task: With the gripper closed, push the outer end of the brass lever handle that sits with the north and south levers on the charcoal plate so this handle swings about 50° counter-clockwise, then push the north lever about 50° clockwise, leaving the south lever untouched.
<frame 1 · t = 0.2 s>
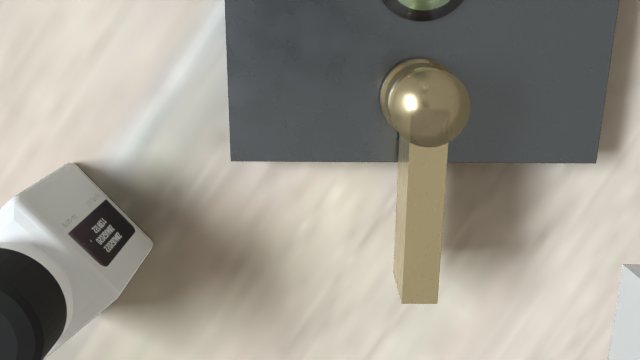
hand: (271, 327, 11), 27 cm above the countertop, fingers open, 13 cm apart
container: (76, 236, 40), on the countertop
brass lever handle: (419, 180, 34), point 5 cm above the countertop, hinge at 0.0°
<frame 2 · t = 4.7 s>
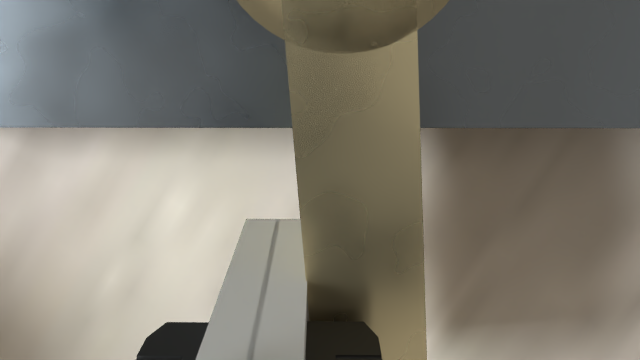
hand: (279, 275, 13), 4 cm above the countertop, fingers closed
brass lever handle: (354, 170, 12), point 5 cm above the countertop, hinge at 4.3°, touching gripper
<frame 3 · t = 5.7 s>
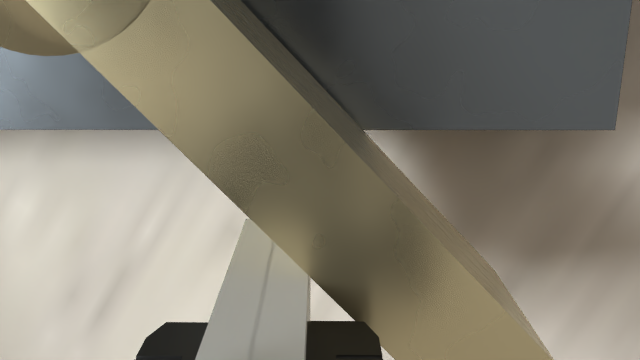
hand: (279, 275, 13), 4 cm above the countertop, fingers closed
brass lever handle: (263, 112, 11), point 5 cm above the countertop, hinge at 43.4°, touching gripper
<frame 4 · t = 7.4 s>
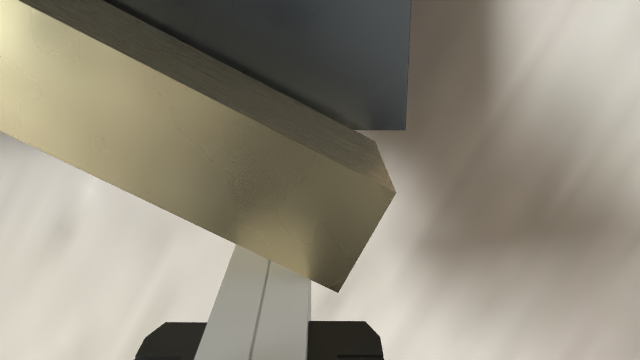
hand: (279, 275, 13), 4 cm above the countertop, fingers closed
brass lever handle: (48, 48, 11), point 5 cm above the countertop, hinge at 62.7°, touching gripper
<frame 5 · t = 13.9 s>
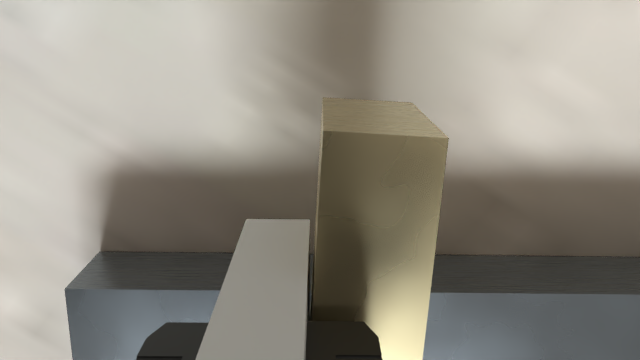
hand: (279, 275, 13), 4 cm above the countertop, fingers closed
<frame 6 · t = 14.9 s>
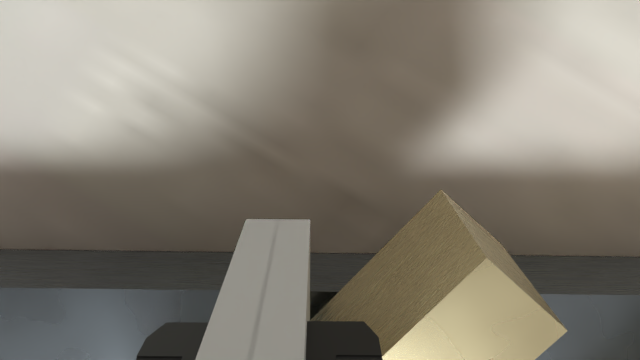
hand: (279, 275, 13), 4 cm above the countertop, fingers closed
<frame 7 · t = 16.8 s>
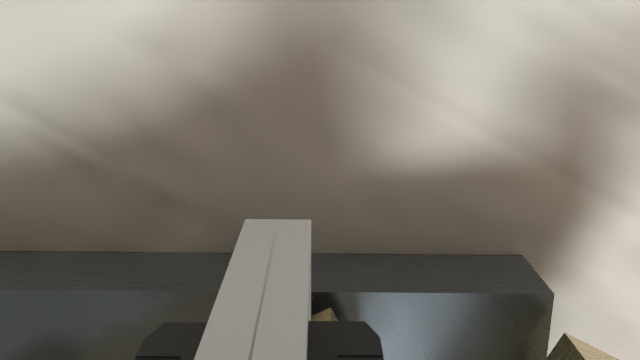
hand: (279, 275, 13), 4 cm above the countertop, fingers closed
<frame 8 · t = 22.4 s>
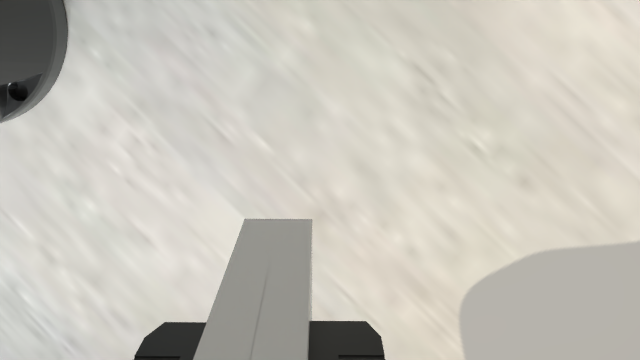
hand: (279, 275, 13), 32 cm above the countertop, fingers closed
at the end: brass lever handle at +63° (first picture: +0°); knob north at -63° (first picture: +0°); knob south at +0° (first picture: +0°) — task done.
